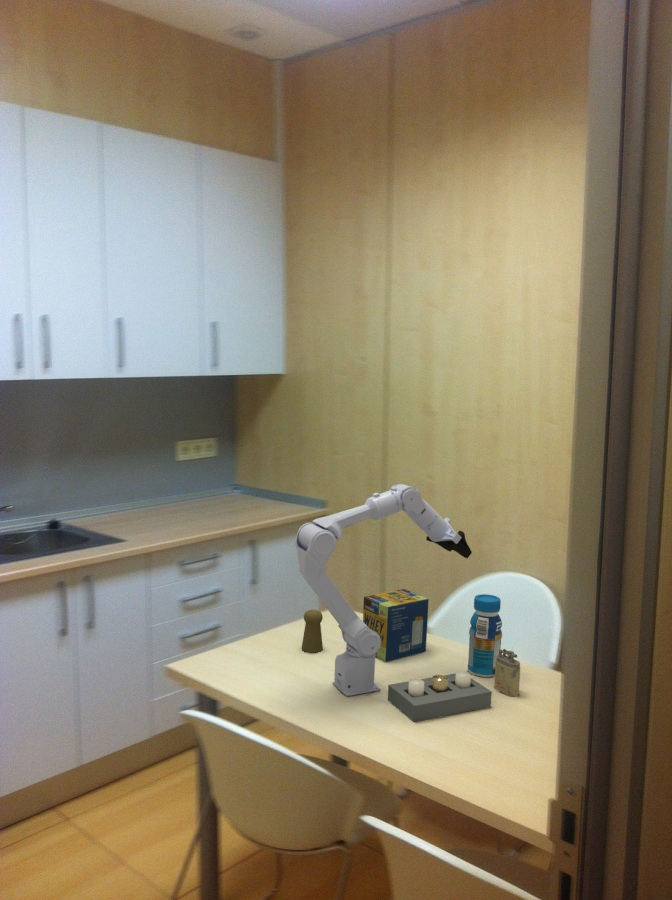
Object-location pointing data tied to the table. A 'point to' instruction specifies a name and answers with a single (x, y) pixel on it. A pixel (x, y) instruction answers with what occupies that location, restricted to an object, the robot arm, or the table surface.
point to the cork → (312, 632)
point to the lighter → (507, 673)
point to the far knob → (462, 679)
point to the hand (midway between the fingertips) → (460, 551)
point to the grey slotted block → (439, 699)
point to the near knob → (416, 688)
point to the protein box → (397, 623)
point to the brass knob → (440, 683)
